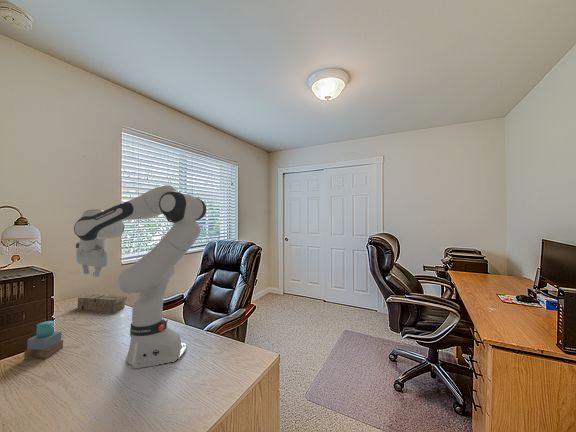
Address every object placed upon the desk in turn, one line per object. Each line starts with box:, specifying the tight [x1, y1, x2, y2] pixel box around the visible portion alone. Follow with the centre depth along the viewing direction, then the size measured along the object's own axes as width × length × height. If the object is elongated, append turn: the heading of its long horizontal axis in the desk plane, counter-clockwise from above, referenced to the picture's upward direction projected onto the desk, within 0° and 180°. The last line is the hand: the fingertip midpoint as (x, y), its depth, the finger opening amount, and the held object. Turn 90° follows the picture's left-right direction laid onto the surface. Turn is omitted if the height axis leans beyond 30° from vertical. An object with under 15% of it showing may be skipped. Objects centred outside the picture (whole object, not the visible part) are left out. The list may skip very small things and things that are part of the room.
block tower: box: [77, 293, 128, 313], centre depth 149 cm, size 8×8×29 cm
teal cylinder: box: [35, 320, 55, 338], centre depth 99 cm, size 5×5×5 cm
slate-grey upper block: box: [26, 331, 62, 350], centre depth 98 cm, size 7×7×4 cm
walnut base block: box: [23, 339, 64, 361], centre depth 99 cm, size 8×8×4 cm
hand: (91, 275), depth 108 cm, fingers open, 8 cm apart
